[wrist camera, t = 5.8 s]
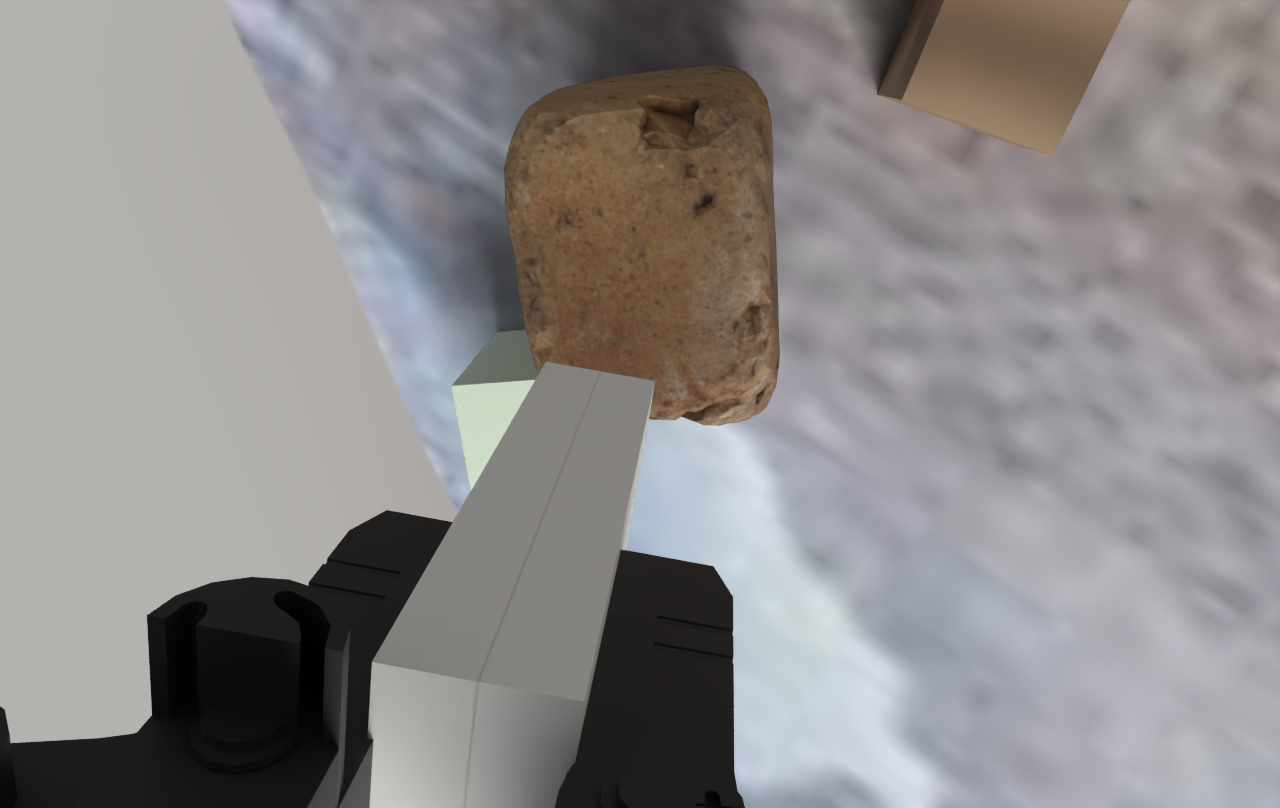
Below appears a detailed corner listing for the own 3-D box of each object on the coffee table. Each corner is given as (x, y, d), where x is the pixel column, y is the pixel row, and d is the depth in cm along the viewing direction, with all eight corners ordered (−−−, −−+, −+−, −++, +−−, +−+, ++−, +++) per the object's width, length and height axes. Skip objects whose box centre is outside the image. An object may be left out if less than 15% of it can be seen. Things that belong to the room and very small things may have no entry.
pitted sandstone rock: (588, 74, 40) (468, 86, 22) (762, 61, 40) (794, 62, 21) (608, 315, 44) (521, 504, 25) (768, 308, 43) (799, 498, 25)
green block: (497, 331, 45) (451, 386, 37) (620, 321, 44) (598, 375, 37) (516, 445, 47) (476, 519, 39) (633, 438, 46) (615, 511, 39)
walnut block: (938, -54, 38) (975, -74, 32) (1075, -2, 38) (1136, -13, 32) (877, 94, 40) (901, 99, 34) (1007, 142, 40) (1053, 155, 34)
